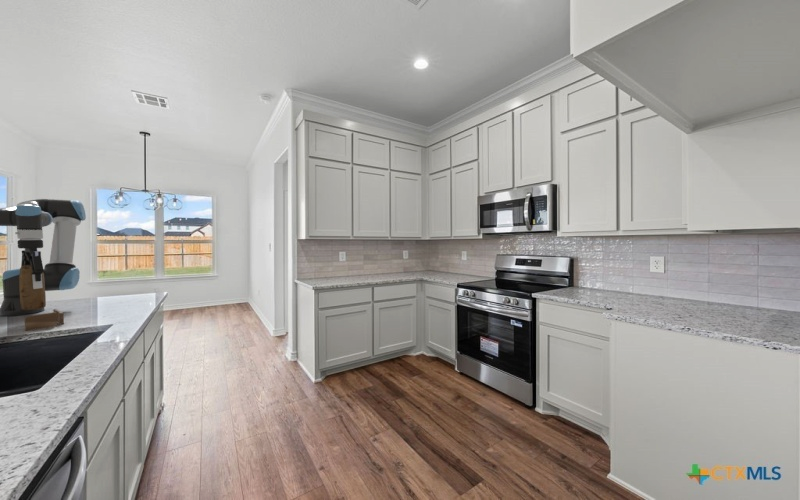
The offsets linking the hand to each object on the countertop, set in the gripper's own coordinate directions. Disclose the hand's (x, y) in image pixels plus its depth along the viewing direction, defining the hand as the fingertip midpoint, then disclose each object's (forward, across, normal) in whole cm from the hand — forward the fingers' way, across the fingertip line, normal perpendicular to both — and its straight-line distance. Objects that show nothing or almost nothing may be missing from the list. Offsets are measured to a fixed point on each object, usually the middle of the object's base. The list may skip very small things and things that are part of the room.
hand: (33, 287), depth 144 cm
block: (+10, 0, 0) cm, 10 cm away
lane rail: (+16, +8, +5) cm, 19 cm away
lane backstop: (+16, +16, -2) cm, 23 cm away
